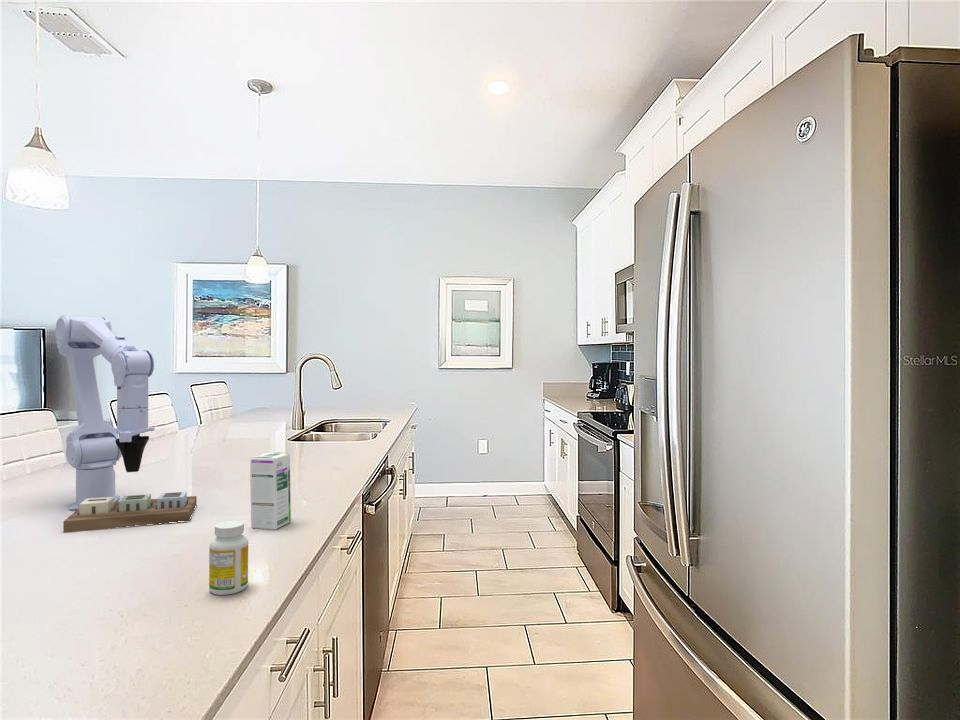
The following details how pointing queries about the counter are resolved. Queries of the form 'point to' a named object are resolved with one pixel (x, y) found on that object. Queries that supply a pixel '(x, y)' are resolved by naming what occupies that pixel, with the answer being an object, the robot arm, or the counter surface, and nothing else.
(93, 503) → the tile one
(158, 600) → the counter surface
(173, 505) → the tile three
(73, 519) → the frame
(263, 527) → the syrup box
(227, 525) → the supplement bottle
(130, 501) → the tile two
